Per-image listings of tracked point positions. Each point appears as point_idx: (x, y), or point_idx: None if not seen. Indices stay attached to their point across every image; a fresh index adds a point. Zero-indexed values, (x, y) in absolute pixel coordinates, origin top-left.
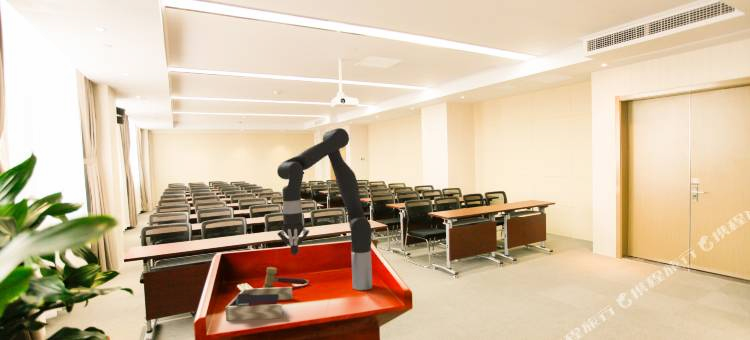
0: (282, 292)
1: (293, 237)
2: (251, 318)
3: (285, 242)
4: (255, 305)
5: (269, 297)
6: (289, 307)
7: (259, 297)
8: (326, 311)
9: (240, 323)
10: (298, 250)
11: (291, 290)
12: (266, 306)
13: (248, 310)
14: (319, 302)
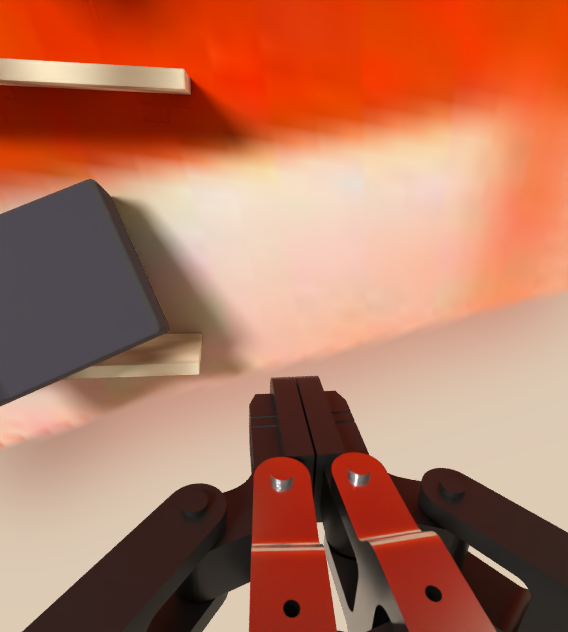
0: (120, 87)
1: (323, 578)
2: None
3: (171, 600)
4: None
5: (118, 352)
6: (208, 226)
7: (63, 376)
8: (393, 292)
9: None
10: (347, 406)
11: (185, 90)
12: (124, 375)
13: None
14: (361, 175)
